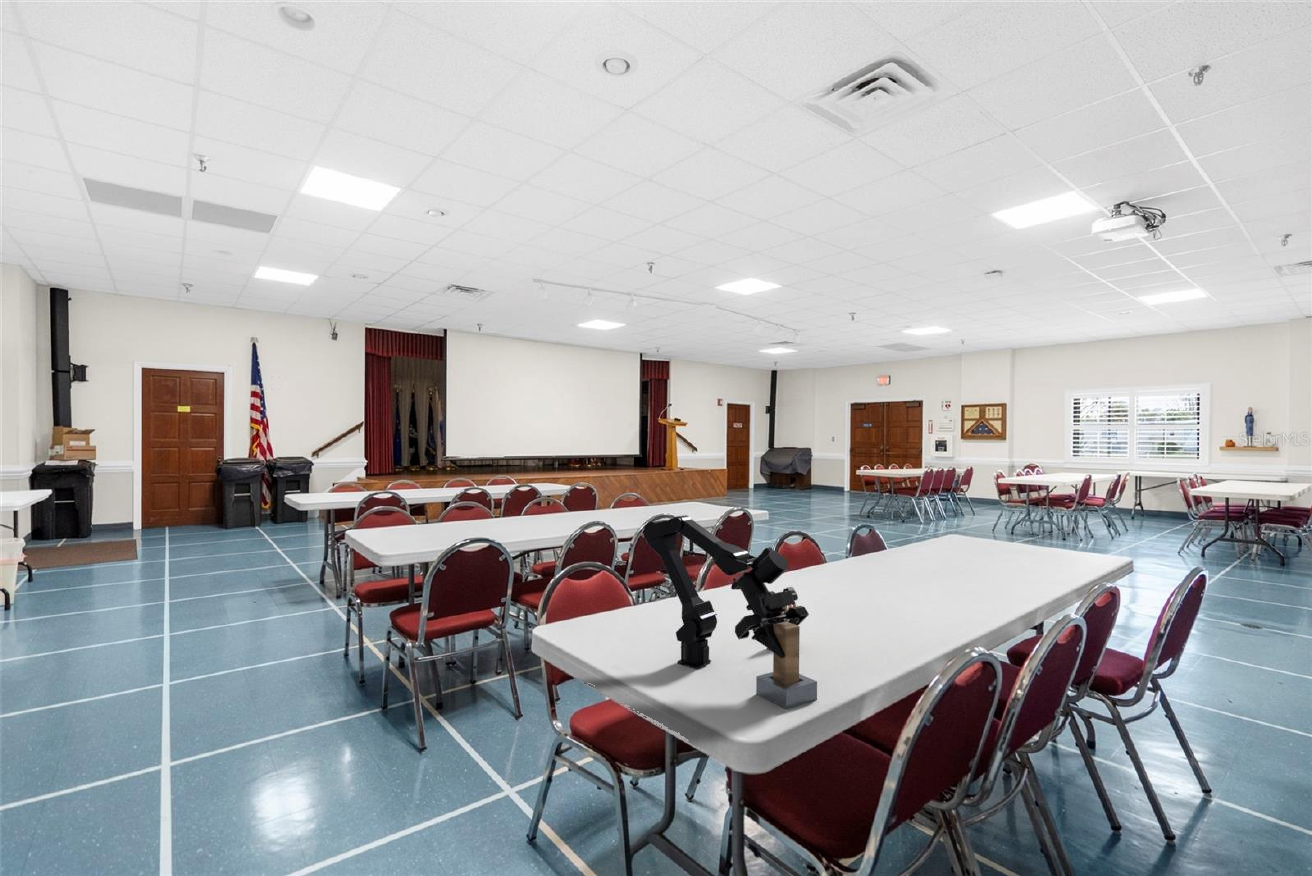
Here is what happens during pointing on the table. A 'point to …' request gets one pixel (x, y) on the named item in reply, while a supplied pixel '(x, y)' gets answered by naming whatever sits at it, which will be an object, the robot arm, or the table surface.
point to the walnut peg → (787, 653)
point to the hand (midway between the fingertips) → (790, 655)
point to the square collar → (786, 690)
